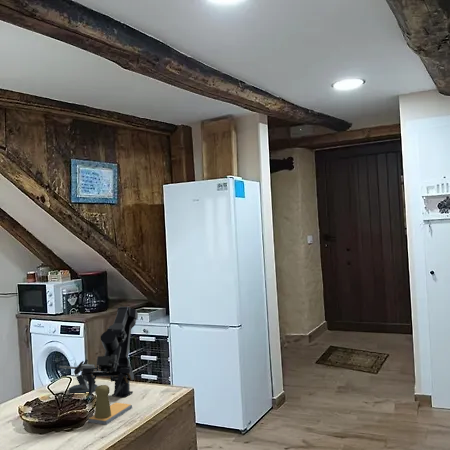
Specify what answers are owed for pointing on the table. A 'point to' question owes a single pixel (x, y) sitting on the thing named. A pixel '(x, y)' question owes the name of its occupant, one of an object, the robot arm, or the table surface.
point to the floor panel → (112, 413)
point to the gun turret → (80, 378)
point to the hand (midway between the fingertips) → (102, 395)
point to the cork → (102, 402)
